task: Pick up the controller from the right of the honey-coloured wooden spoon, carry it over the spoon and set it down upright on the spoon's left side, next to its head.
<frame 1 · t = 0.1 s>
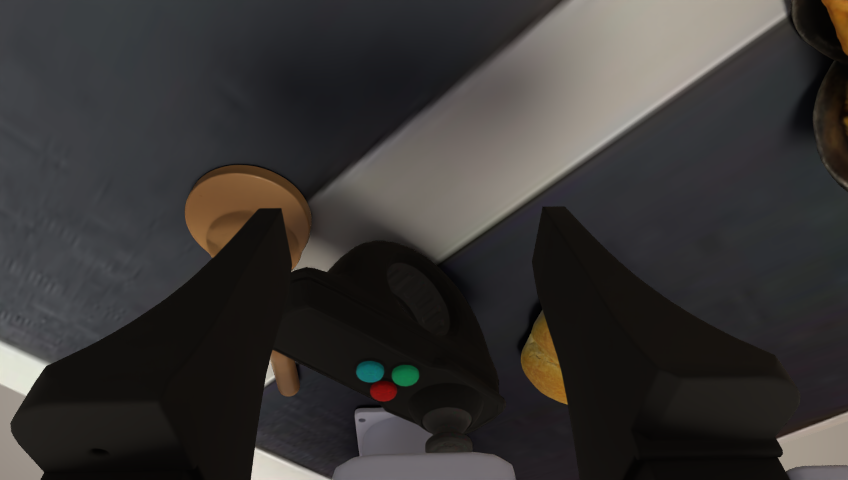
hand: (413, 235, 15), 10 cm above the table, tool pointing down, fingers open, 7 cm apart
controller: (392, 255, 29), on the table
spoon: (251, 215, 27), on the table
bread roll: (586, 325, 33), on the table
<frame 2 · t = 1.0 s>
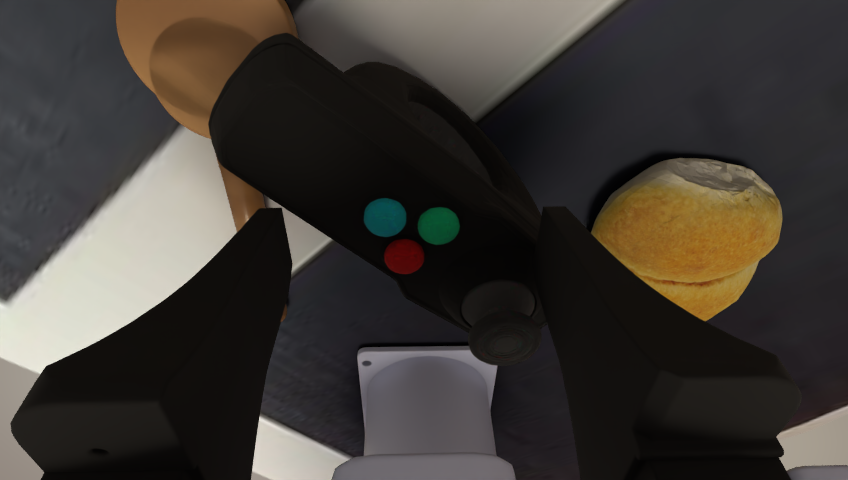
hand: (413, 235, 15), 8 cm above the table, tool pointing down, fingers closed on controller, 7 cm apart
controller: (409, 111, 21), on the table, touching gripper
spoon: (214, 37, 19), on the table
bread roll: (660, 228, 25), on the table
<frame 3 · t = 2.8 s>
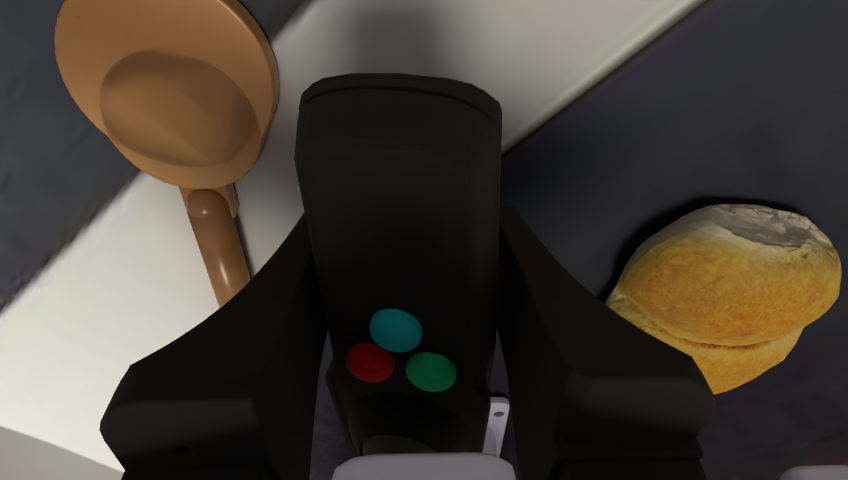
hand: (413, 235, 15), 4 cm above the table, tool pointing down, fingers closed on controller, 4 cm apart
controller: (454, 167, 18), on the table, touching gripper
spoon: (177, 70, 16), on the table
bread roll: (695, 276, 22), on the table
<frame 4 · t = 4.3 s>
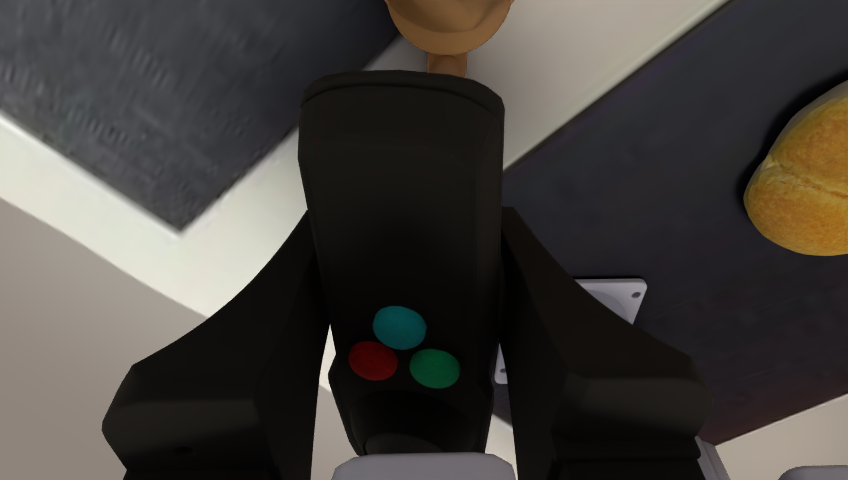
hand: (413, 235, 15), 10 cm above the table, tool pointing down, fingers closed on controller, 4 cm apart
controller: (451, 165, 18), point 6 cm above the table, touching gripper
bread roll: (830, 151, 26), on the table
when the fingers open (4 cm above the table, at t = 6.7 s): controller stays where it is, on the table.
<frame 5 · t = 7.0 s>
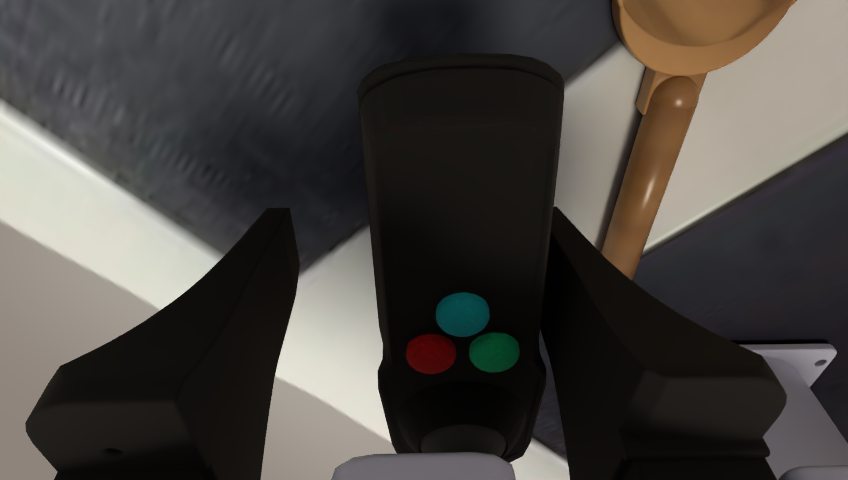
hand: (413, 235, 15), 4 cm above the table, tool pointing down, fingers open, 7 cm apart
controller: (450, 159, 18), on the table
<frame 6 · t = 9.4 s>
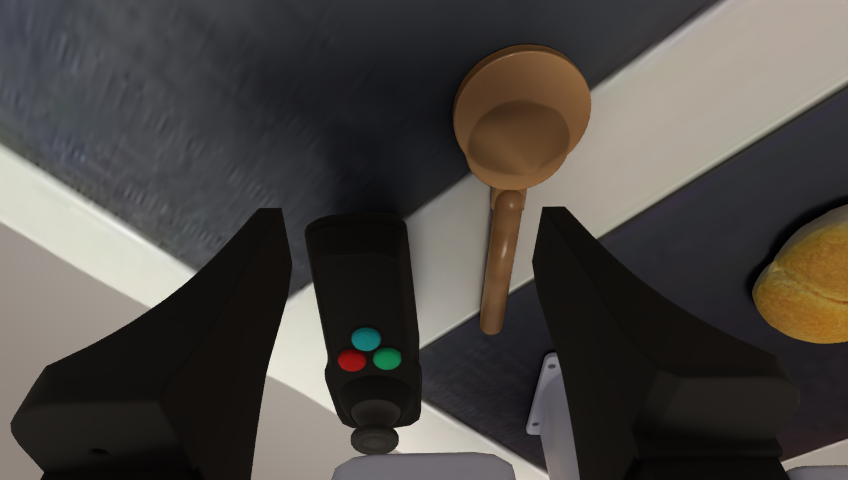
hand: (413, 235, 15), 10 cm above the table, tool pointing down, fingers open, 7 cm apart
controller: (376, 232, 28), on the table
spoon: (519, 110, 24), on the table
bread roll: (826, 255, 30), on the table
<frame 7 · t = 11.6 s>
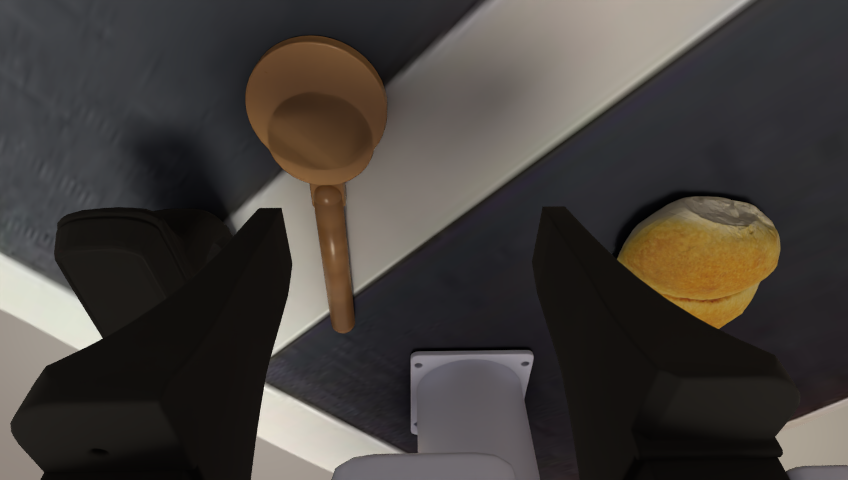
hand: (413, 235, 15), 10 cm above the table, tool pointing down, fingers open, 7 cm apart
controller: (207, 229, 28), on the table
spoon: (319, 103, 23), on the table
bread roll: (676, 251, 30), on the table
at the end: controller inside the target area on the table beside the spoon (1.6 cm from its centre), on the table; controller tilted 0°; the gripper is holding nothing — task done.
